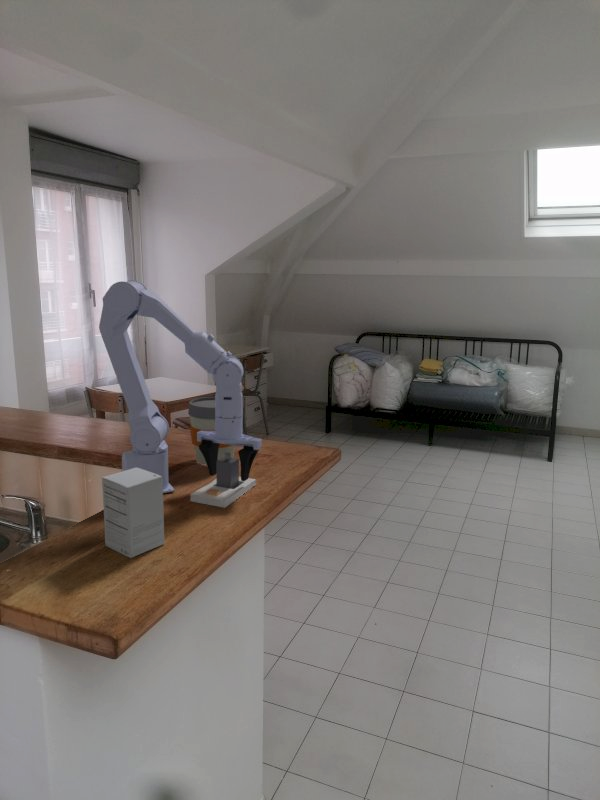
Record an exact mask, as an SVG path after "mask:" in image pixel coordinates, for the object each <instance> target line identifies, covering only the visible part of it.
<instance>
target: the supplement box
mask: <svg viewBox="0 0 600 800" xmlns="http://www.w3.org/2000/svg"><path fill="white" fill-rule="evenodd" d="M101 484H102V485H101V487H102V502H103V521H104V522H103V524H104V541H105V544H104V545H105V546H106V547H107V548H110V549H111V550H113V551H115V552H117V553H120V554H121V555H122V556H125V557H128V558H129V559H132V558H135V557H136V556H139V555H142V554H144V553H146V552H148V551H151V550H153V549H155V548H158V547H161V546H163V545H164V544H165V520H164V519H165V517H164V516H165V515H164V514H165V513H164V493H163V480H162V476H160V475H157V474H155V473H152V472H149V471H146V470H143V469H140V468H137V467H136V468H132V469H129V470H126V471H122V470H121V471H119V472H116V473H113V474H109V475H105V476H102V477H101Z"/></svg>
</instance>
